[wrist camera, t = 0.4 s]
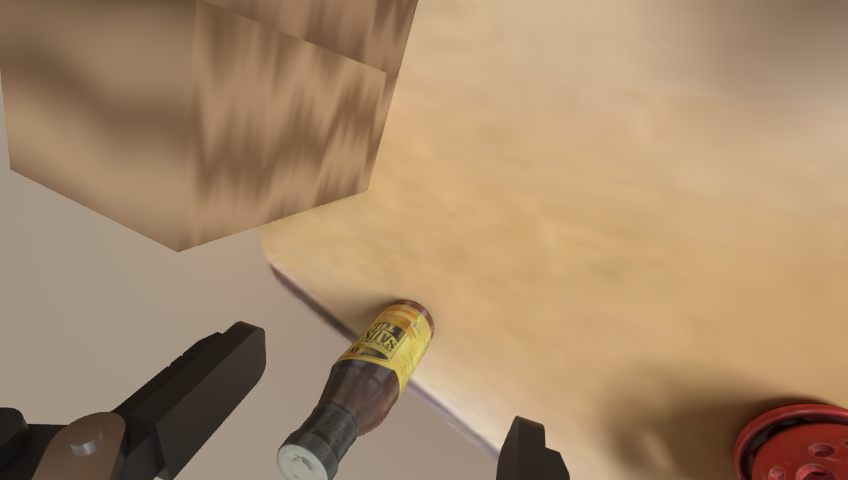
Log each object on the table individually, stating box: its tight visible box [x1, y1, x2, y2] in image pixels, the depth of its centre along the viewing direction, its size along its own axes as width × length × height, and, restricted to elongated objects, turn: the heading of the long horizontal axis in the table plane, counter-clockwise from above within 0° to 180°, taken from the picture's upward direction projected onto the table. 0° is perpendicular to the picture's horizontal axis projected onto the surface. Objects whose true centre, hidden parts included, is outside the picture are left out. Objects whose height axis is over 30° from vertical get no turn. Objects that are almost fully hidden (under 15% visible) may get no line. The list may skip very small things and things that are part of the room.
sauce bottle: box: [277, 300, 434, 480], centre depth 32 cm, size 6×6×20 cm
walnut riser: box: [0, 0, 418, 252], centre depth 21 cm, size 23×12×32 cm, turn 162°
